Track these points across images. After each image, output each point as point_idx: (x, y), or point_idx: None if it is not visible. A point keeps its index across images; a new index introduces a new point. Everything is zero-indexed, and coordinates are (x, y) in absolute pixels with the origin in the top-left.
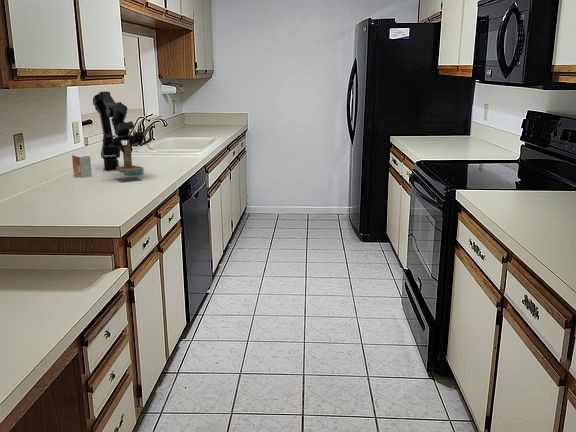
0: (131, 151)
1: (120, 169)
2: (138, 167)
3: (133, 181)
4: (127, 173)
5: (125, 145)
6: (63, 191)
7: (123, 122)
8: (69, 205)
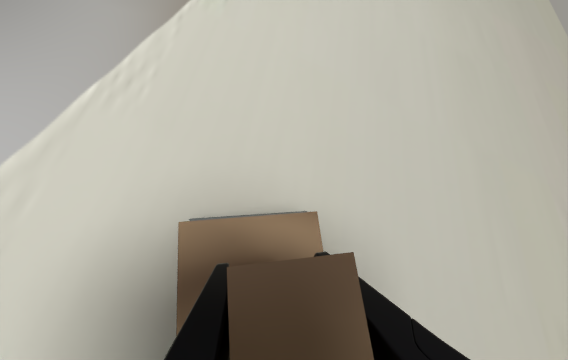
0: (224, 263)
1: (318, 244)
2: (179, 273)
3: (241, 215)
4: None
5: (328, 302)
6: (503, 167)
7: None
8: (451, 7)
